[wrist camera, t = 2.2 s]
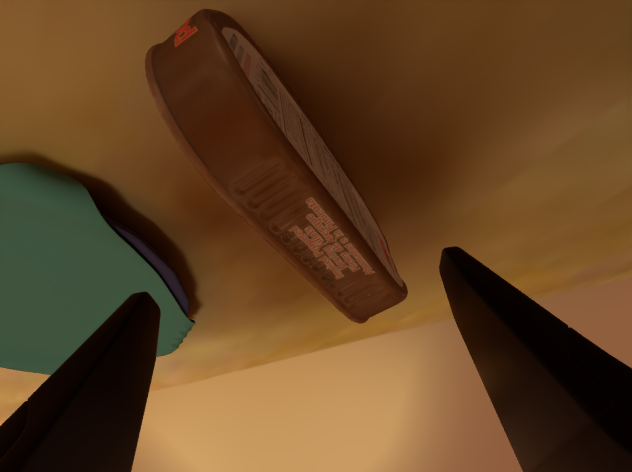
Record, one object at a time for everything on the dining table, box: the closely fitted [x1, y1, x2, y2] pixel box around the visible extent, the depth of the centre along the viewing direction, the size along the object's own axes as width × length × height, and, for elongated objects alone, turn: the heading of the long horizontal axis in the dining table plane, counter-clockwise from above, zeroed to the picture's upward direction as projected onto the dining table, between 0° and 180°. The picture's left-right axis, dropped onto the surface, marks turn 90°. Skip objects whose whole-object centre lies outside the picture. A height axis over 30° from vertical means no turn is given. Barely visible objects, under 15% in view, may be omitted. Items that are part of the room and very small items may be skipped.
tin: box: [145, 9, 408, 323], centre depth 15 cm, size 15×3×8 cm, turn 33°
